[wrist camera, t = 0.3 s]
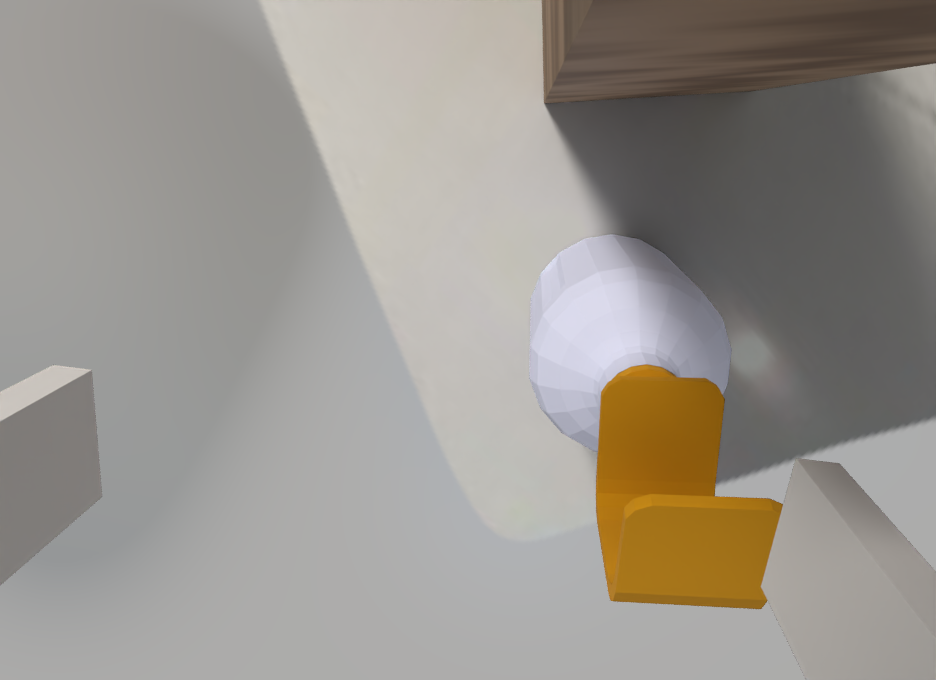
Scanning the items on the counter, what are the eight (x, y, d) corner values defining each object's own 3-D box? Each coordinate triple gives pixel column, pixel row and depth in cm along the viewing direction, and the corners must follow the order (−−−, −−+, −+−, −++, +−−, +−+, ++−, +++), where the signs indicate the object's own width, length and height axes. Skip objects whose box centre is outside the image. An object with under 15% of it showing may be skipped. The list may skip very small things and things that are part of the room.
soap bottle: (691, 233, 39) (931, 398, 15) (678, 384, 41) (864, 719, 18) (532, 232, 40) (529, 387, 16) (529, 380, 42) (523, 696, 19)
